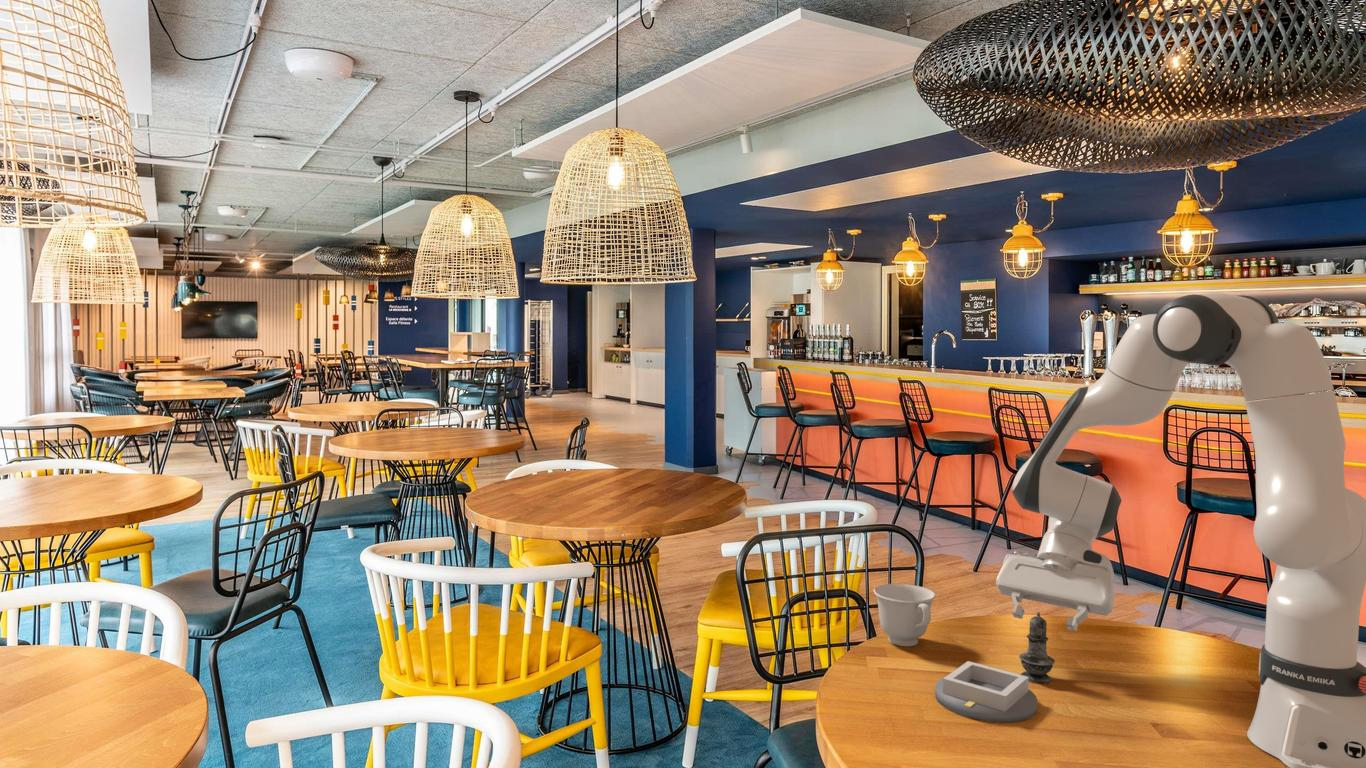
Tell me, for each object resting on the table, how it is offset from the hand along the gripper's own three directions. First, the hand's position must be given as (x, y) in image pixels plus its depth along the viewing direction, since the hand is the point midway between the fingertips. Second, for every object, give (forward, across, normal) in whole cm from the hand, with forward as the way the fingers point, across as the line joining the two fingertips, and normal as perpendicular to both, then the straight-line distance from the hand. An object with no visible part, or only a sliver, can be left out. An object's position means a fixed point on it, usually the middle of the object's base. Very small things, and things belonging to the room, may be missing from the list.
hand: (1043, 622), depth 155 cm
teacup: (+9, -25, +4) cm, 27 cm away
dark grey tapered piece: (+9, 0, +4) cm, 10 cm away
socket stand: (+20, -3, -7) cm, 21 cm away
